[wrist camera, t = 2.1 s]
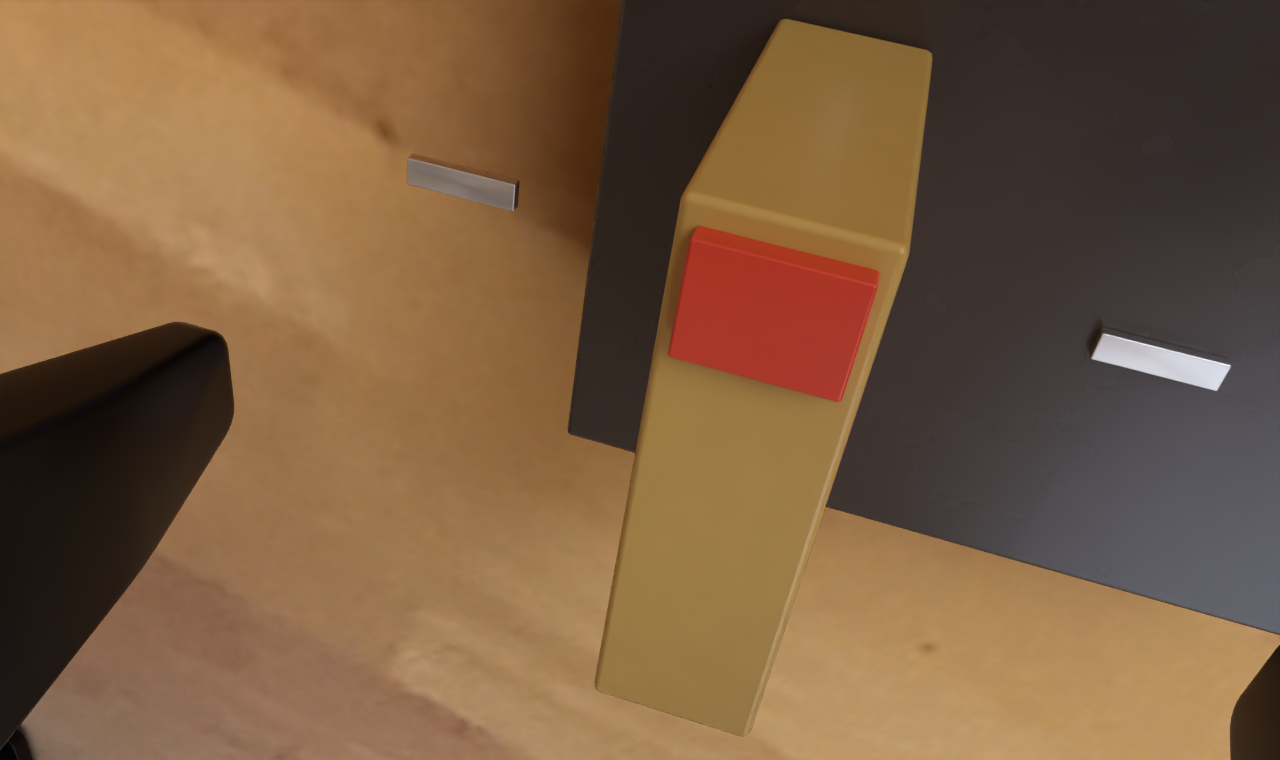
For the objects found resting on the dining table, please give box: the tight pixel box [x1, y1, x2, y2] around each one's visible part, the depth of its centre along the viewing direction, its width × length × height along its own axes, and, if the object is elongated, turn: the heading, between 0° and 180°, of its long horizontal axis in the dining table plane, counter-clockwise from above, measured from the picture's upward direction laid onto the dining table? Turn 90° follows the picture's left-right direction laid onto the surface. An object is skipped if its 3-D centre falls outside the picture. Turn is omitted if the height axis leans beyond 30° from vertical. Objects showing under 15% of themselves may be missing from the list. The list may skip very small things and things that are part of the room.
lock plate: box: [407, 0, 1280, 635], centre depth 12 cm, size 14×13×3 cm
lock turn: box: [595, 19, 933, 736], centre depth 10 cm, size 6×2×5 cm, turn 172°
